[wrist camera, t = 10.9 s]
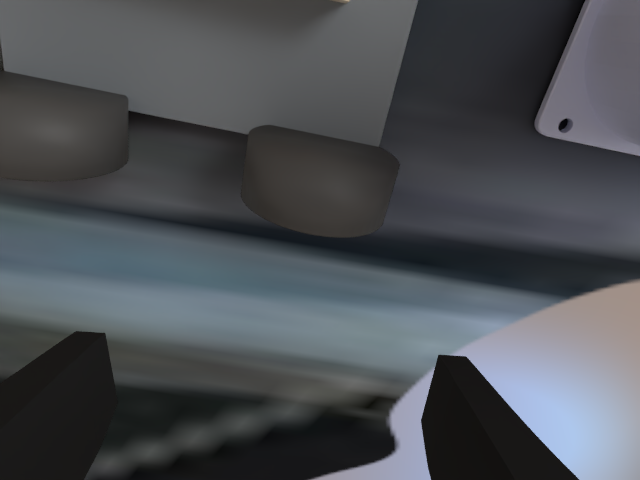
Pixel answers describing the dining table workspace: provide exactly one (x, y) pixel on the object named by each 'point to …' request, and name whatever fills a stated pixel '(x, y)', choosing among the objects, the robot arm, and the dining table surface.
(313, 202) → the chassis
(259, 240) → the dining table surface
